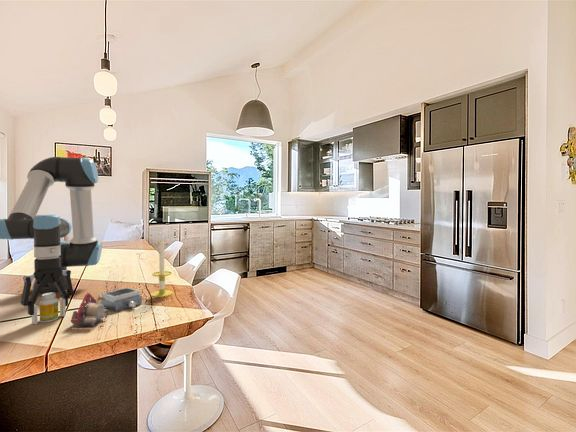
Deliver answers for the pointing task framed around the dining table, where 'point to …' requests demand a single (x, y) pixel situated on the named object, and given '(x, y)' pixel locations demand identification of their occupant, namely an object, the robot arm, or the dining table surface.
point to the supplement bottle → (48, 307)
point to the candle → (161, 275)
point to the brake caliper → (89, 312)
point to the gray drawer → (122, 299)
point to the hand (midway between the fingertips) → (49, 319)
